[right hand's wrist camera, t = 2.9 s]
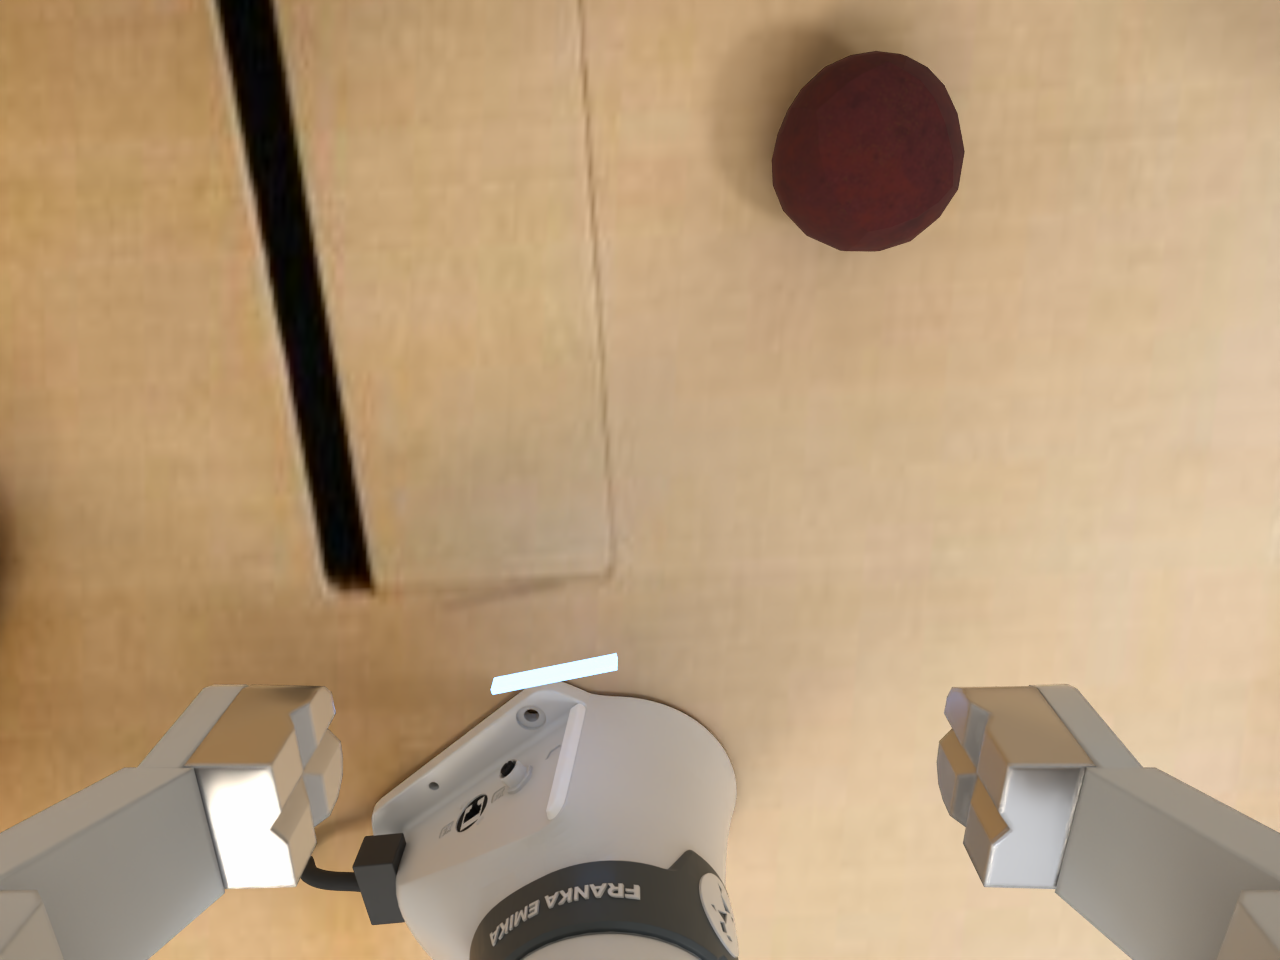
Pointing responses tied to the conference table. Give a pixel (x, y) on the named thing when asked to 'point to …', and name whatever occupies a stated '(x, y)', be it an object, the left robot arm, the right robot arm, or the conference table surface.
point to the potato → (868, 153)
